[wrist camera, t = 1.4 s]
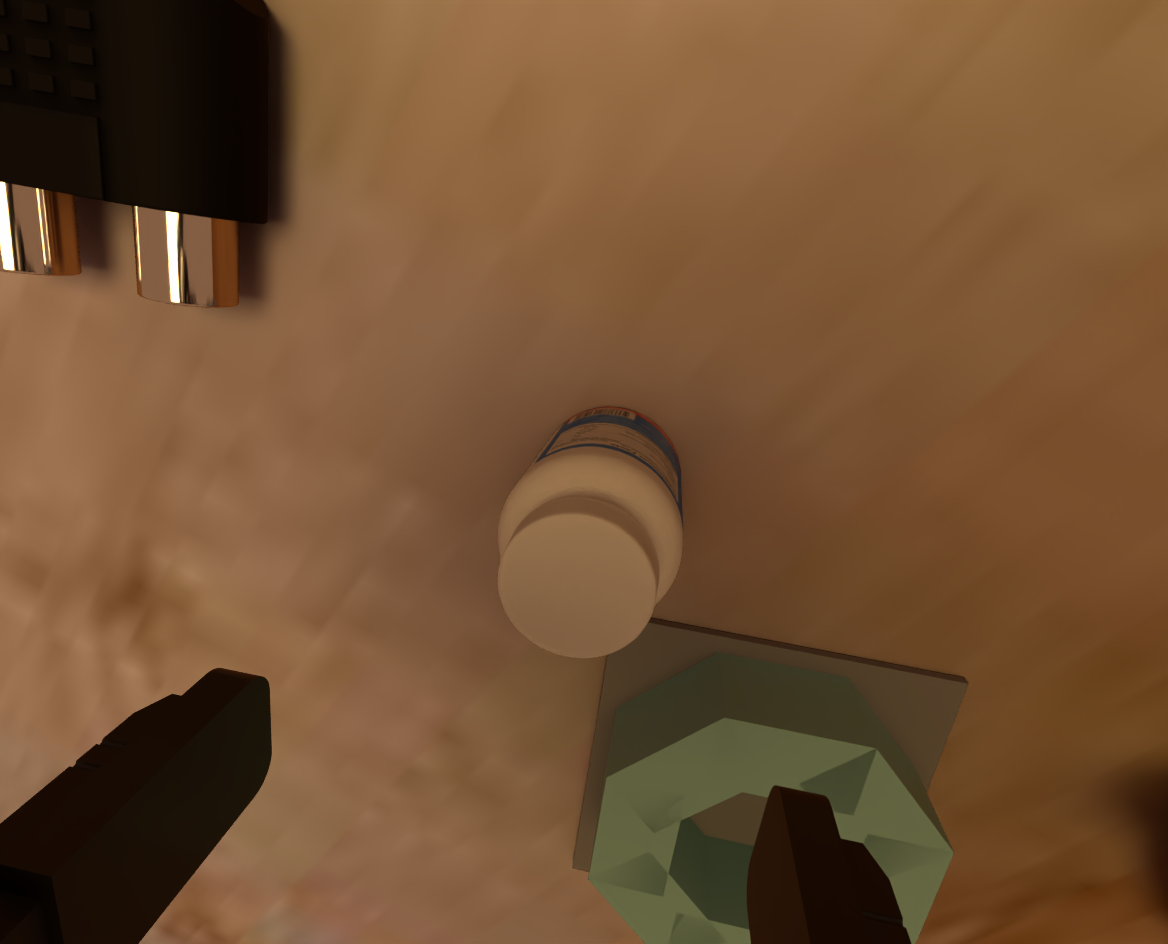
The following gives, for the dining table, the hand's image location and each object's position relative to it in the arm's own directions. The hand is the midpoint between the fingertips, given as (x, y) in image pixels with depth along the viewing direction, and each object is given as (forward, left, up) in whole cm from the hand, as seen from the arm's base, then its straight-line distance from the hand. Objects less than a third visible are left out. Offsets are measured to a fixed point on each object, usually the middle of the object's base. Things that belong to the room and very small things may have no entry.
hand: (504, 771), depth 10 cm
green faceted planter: (-8, +13, -15) cm, 22 cm away
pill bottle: (0, 0, -16) cm, 16 cm away
